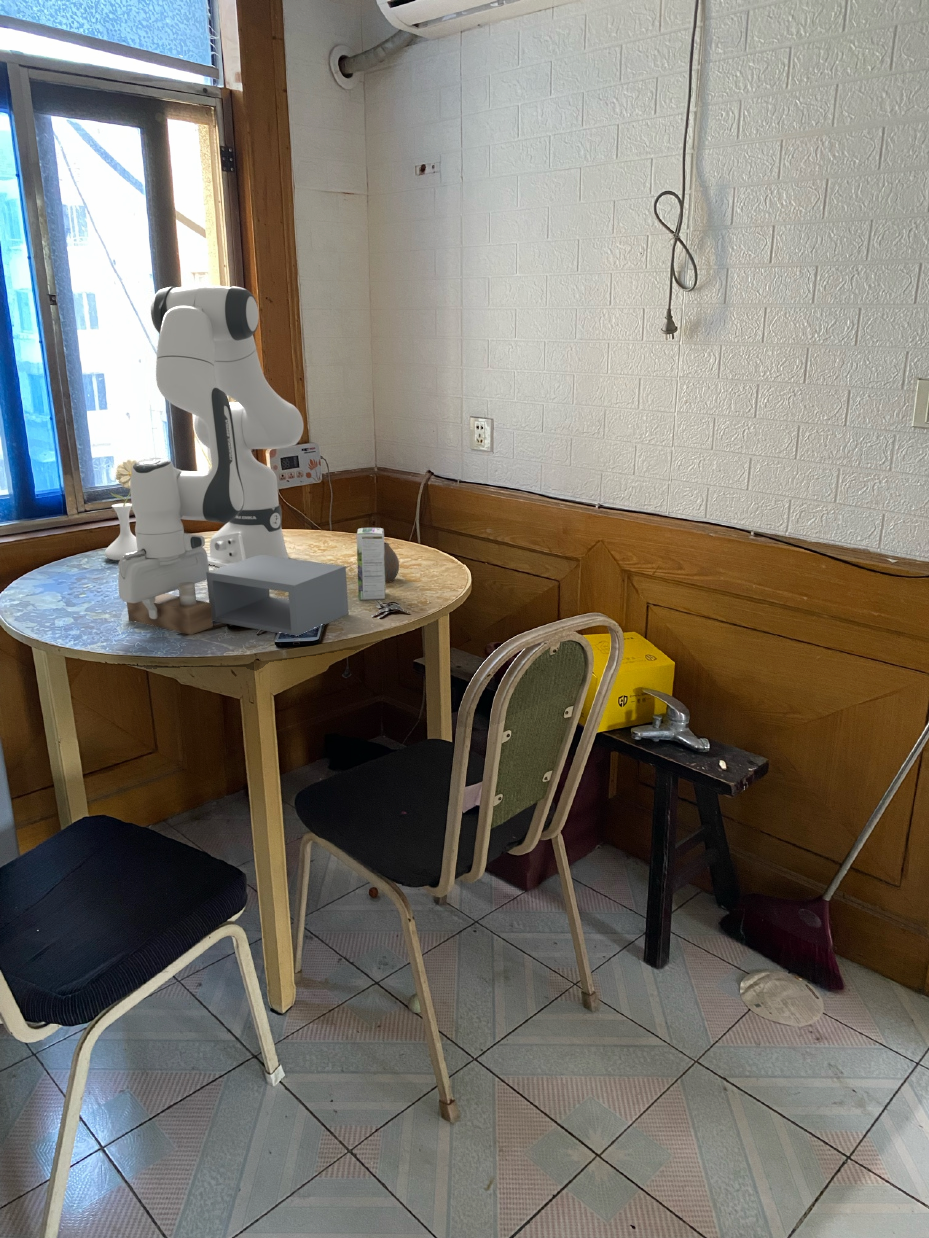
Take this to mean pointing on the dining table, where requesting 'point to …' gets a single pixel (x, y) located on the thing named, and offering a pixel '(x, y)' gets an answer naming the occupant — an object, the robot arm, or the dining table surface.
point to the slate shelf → (309, 584)
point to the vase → (390, 563)
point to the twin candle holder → (176, 611)
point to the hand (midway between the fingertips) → (169, 613)
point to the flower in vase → (123, 517)
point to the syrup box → (371, 563)
